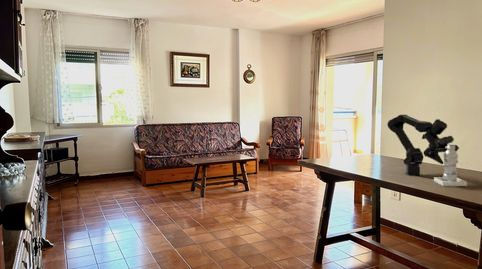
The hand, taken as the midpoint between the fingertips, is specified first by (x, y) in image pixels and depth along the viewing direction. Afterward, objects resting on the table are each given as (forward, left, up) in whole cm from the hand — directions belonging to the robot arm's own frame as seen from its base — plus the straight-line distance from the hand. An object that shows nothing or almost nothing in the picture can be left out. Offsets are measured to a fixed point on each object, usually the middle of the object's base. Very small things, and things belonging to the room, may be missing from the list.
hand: (449, 163), depth 182 cm
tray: (0, 0, -11) cm, 11 cm away
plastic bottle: (0, 0, -11) cm, 11 cm away
